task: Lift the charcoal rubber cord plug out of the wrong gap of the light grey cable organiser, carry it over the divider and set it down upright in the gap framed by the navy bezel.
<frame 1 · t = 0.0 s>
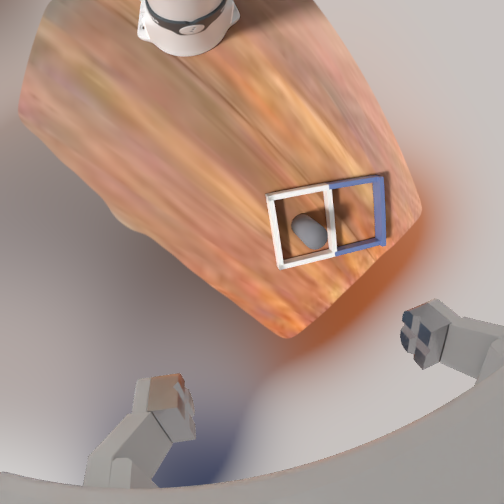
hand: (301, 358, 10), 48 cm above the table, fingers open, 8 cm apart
organiser: (328, 219, 60), on the table
cord plug: (301, 224, 60), resting in organiser
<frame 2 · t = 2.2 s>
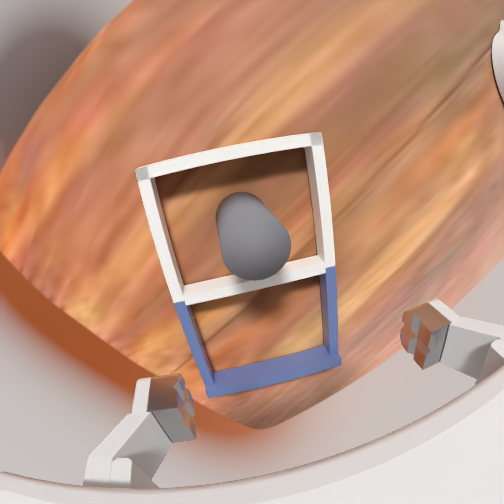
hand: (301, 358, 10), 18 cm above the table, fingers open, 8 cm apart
organiser: (252, 275, 29), on the table
cord plug: (241, 216, 26), resting in organiser
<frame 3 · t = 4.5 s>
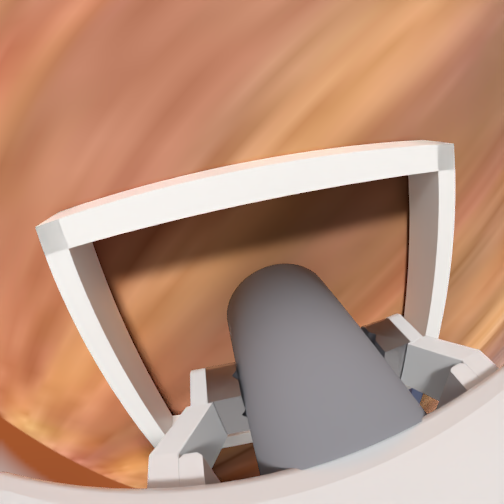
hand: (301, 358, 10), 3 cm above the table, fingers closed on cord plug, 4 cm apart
organiser: (292, 396, 15), on the table
cord plug: (279, 311, 13), resting in organiser, touching gripper
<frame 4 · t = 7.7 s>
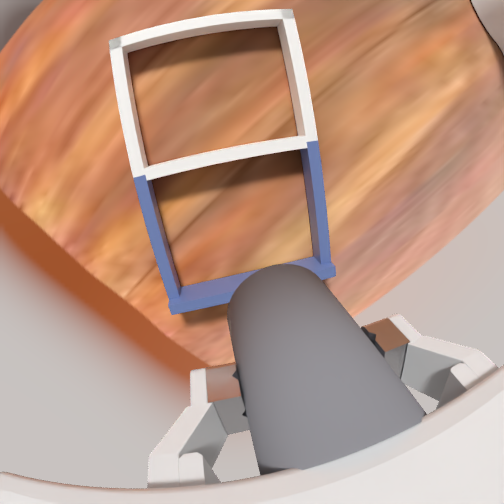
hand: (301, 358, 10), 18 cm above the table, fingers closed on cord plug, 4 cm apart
organiser: (224, 154, 24), on the table
cord plug: (279, 311, 13), point 15 cm above the table, touching gripper
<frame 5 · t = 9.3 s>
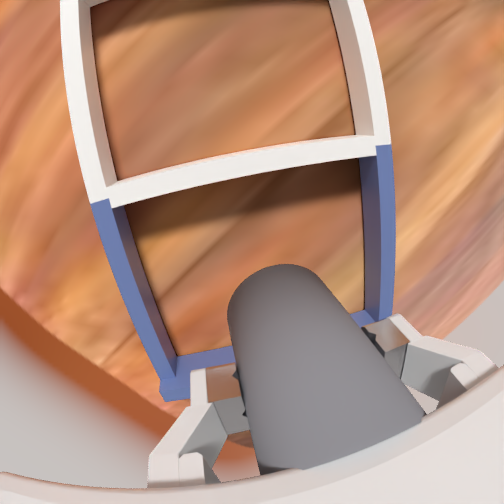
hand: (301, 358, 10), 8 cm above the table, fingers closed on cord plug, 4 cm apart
organiser: (242, 160, 15), on the table
cord plug: (279, 312, 13), point 5 cm above the table, touching gripper
when the fingers open (5 cm above the table, at t = 10.8 s): cord plug drops 1 cm, resting in organiser.
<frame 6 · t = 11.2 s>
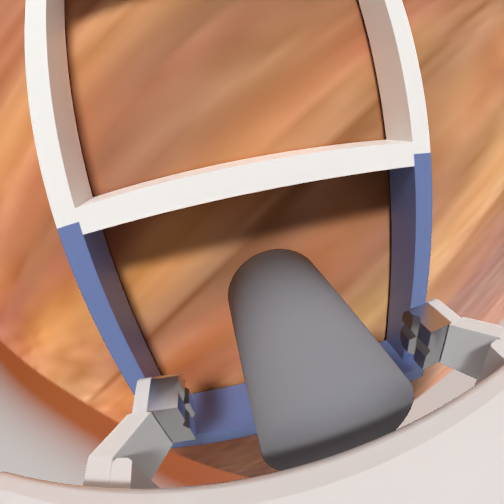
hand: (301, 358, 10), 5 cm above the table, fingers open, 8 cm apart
organiser: (249, 170, 12), on the table
cord plug: (275, 293, 14), resting in organiser
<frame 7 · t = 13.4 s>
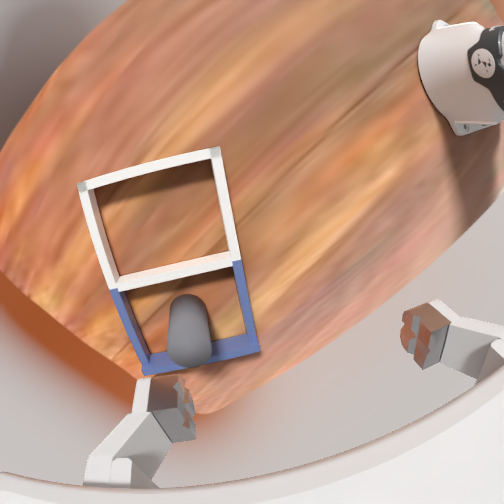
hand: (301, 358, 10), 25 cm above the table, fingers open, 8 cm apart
organiser: (173, 268, 33), on the table
cord plug: (188, 310, 36), resting in organiser
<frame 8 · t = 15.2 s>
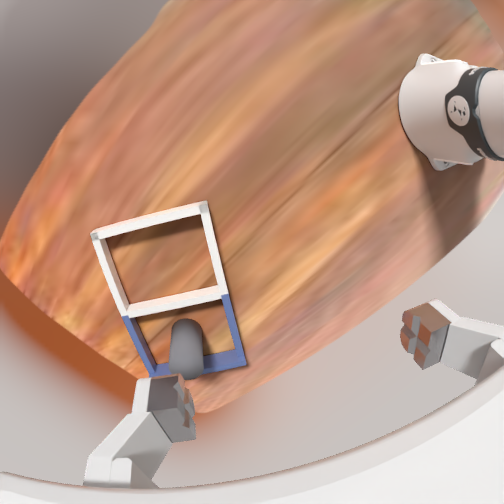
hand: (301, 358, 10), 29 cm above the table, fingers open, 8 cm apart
organiser: (173, 298, 40), on the table
cord plug: (186, 331, 43), resting in organiser
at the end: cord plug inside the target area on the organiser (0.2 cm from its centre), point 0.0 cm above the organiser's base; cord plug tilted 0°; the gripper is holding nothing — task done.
